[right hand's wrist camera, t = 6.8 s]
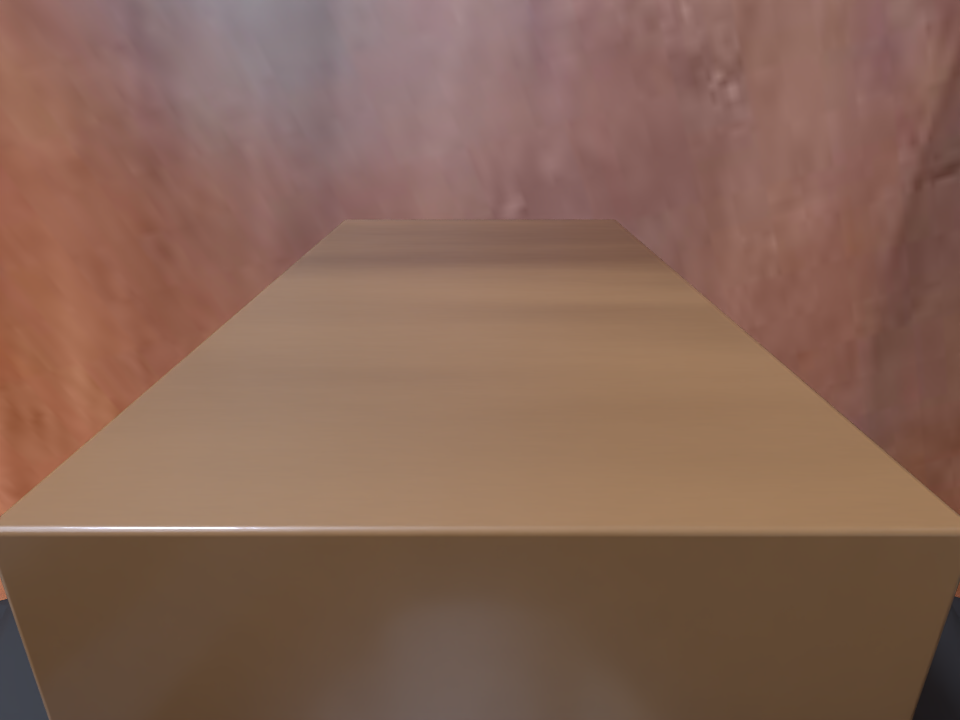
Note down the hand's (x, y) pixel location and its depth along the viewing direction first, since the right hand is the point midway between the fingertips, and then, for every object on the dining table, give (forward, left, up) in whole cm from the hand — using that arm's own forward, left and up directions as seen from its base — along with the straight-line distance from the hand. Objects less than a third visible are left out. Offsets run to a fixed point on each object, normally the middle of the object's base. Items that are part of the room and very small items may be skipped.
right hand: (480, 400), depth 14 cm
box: (+2, +9, -2) cm, 9 cm away
